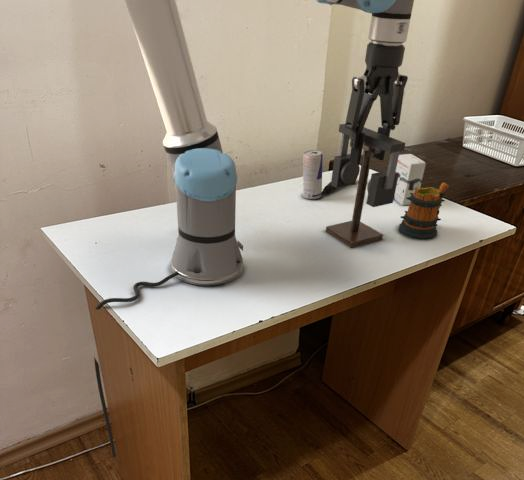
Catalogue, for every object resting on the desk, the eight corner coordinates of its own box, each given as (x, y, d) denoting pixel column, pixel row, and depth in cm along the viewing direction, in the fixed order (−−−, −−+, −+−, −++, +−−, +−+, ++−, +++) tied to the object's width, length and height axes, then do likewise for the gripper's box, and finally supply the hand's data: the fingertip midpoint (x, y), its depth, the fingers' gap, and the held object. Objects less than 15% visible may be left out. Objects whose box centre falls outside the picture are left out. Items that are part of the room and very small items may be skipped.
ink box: (387, 194, 151) (395, 154, 143) (401, 193, 152) (410, 153, 145) (401, 205, 144) (411, 163, 137) (416, 204, 145) (426, 162, 138)
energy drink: (324, 194, 147) (326, 151, 139) (316, 200, 143) (317, 156, 136) (308, 191, 149) (308, 149, 142) (299, 197, 145) (299, 154, 138)
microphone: (324, 208, 147) (357, 182, 159) (330, 192, 143) (364, 166, 154) (309, 198, 149) (343, 173, 160) (315, 182, 144) (350, 157, 156)
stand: (351, 247, 121) (367, 153, 108) (325, 231, 128) (337, 140, 114) (382, 239, 126) (401, 147, 112) (355, 224, 132) (371, 135, 119)
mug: (420, 244, 125) (432, 198, 118) (388, 229, 131) (398, 184, 124) (452, 232, 132) (465, 188, 125) (420, 218, 138) (431, 175, 131)
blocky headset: (376, 208, 113) (388, 145, 105) (328, 183, 125) (336, 124, 116) (395, 204, 116) (409, 142, 108) (347, 180, 127) (356, 122, 119)
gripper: (362, 46, 95) (344, 171, 109) (434, 44, 103) (408, 160, 118) (337, 41, 100) (322, 161, 114) (408, 39, 108) (386, 150, 122)
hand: (366, 160), depth 116 cm, fingers open, 6 cm apart
